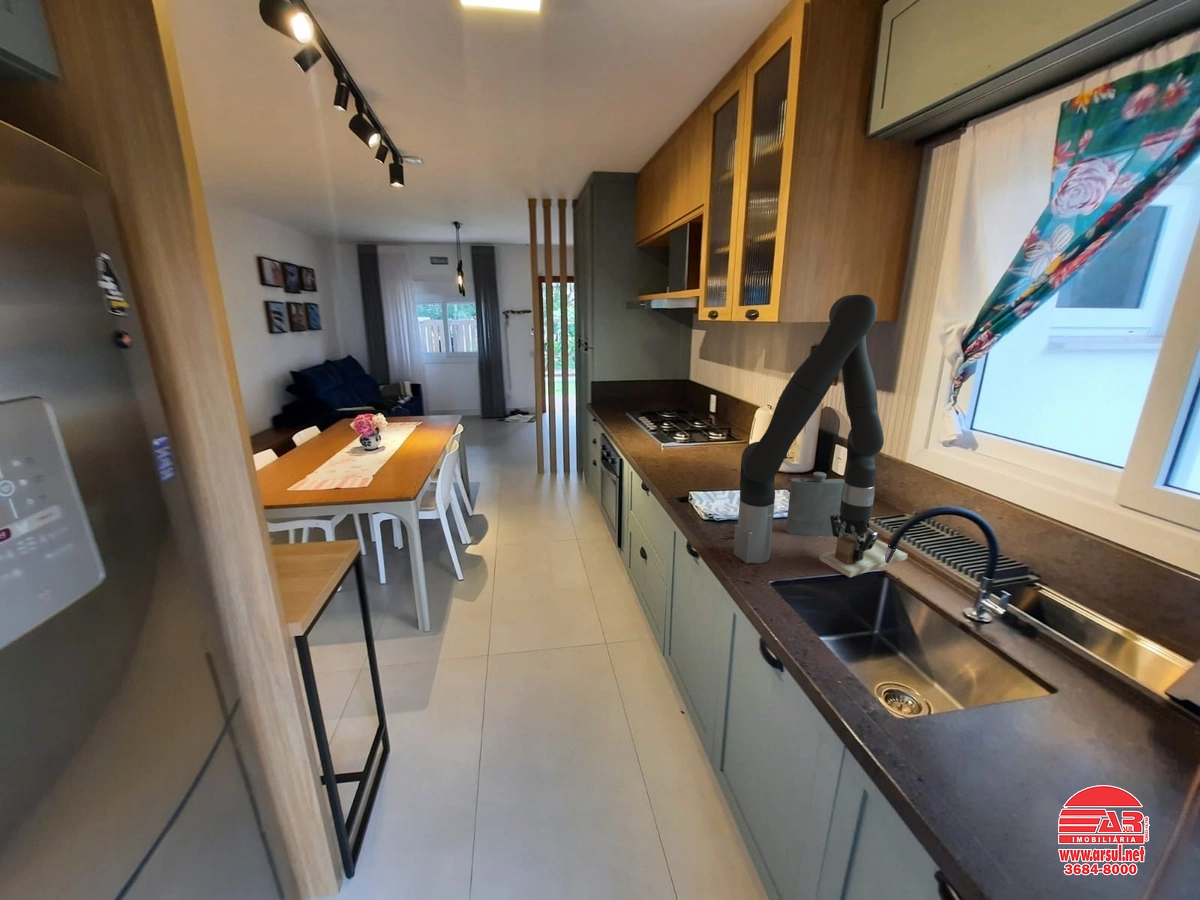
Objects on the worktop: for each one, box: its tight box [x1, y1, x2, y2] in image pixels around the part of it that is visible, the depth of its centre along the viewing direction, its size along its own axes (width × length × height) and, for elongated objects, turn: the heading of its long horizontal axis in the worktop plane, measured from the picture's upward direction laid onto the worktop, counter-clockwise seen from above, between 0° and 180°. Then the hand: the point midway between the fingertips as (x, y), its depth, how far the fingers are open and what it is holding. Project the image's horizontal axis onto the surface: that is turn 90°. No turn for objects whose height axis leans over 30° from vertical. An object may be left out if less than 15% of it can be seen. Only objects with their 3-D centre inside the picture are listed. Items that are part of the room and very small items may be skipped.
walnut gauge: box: [835, 534, 864, 564], centre depth 133 cm, size 6×4×6 cm, turn 113°
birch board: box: [819, 539, 908, 578], centre depth 136 cm, size 22×10×2 cm, turn 113°
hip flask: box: [785, 471, 845, 537], centre depth 149 cm, size 16×4×20 cm, turn 84°
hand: (849, 556), depth 133 cm, fingers closed on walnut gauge, 4 cm apart
